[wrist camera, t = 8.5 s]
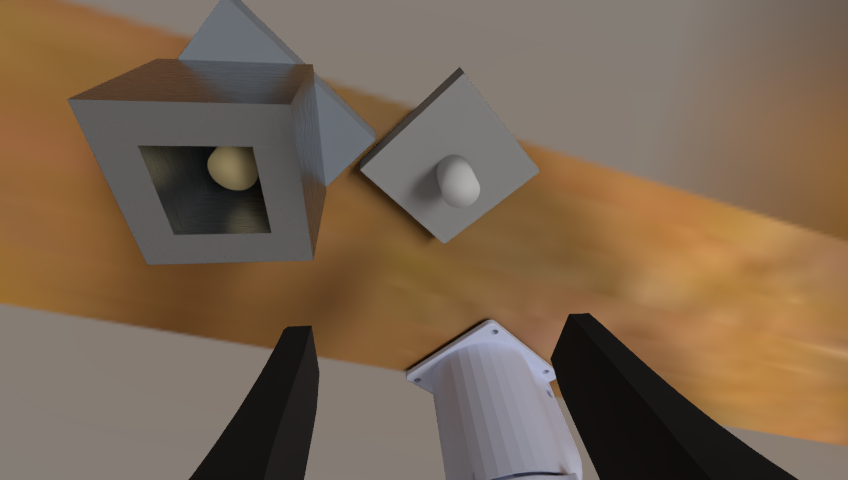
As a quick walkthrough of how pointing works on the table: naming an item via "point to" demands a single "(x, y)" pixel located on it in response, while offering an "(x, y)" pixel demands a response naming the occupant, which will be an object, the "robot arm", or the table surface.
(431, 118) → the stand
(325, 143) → the hub plate
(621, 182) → the table surface
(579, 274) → the table surface
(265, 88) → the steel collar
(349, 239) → the table surface
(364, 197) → the table surface
